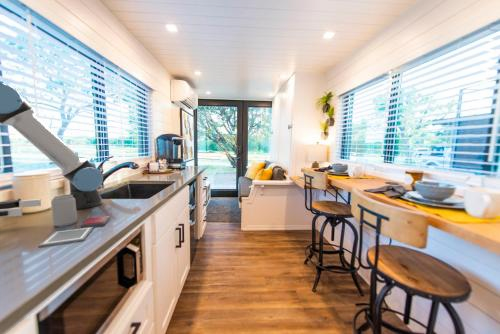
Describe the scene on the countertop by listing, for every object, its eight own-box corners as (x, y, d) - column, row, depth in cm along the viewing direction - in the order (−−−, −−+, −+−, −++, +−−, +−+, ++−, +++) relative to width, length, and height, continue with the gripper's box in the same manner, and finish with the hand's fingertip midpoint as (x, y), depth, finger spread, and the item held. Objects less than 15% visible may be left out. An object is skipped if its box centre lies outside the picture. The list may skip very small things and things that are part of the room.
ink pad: (87, 221, 92) (87, 217, 92) (109, 218, 95) (109, 215, 95) (80, 228, 84) (80, 224, 84) (104, 225, 87) (104, 222, 87)
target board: (55, 233, 80) (55, 231, 80) (93, 228, 85) (93, 226, 84) (38, 247, 69) (38, 245, 69) (84, 240, 74) (83, 238, 73)
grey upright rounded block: (63, 228, 85) (60, 198, 83) (48, 226, 86) (45, 197, 85) (82, 221, 92) (79, 194, 91) (67, 220, 94) (65, 193, 92)
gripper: (-20, 213, 88) (47, 207, 96) (-82, 236, 65) (12, 227, 73) (-22, 195, 87) (46, 191, 95) (-86, 212, 64) (10, 205, 72)
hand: (31, 206), depth 84 cm, fingers open, 13 cm apart
